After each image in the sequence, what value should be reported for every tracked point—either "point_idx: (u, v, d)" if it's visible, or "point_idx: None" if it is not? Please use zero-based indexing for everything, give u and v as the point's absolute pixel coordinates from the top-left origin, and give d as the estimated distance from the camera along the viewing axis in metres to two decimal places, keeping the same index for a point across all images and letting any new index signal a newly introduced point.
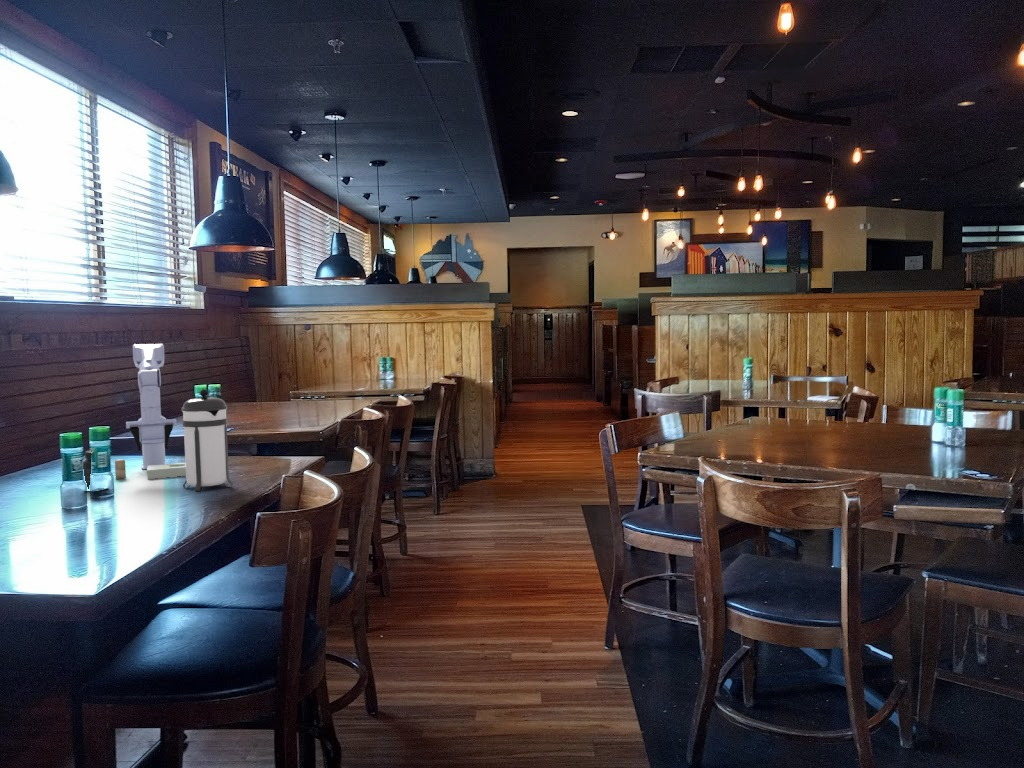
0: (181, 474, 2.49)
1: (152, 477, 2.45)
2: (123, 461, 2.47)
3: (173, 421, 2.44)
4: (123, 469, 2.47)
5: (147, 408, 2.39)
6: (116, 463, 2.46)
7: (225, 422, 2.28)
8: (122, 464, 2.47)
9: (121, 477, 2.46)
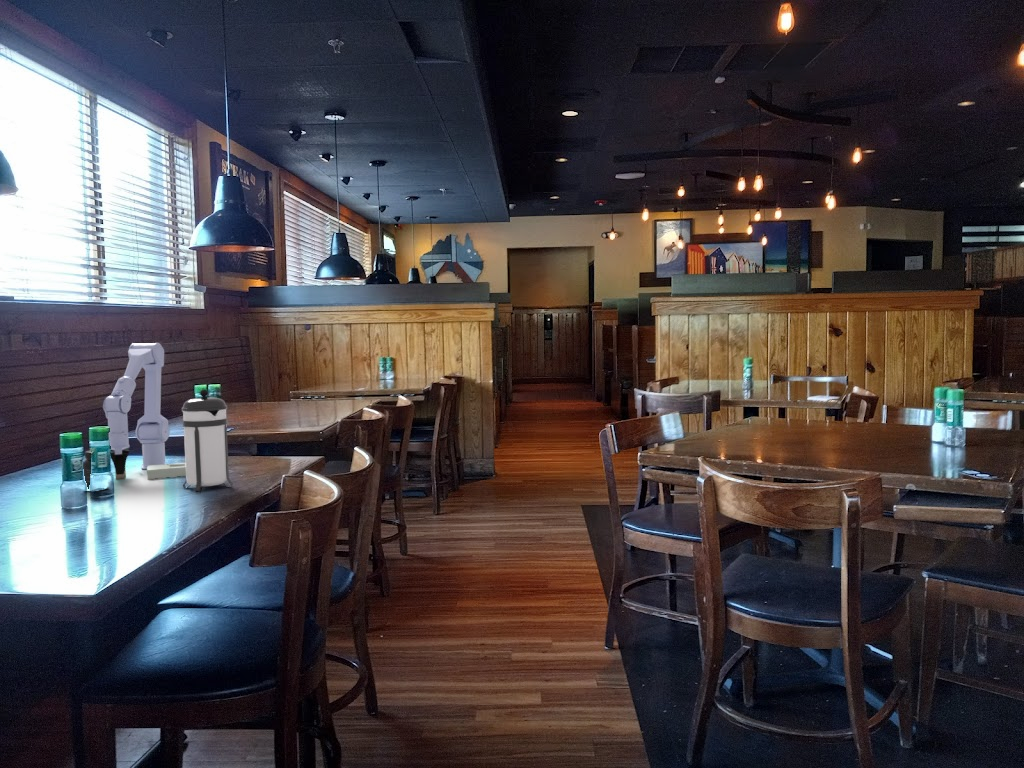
0: (181, 474, 2.49)
1: (152, 477, 2.45)
2: None
3: (114, 450, 2.41)
4: None
5: None
6: None
7: (225, 422, 2.28)
8: None
9: (121, 477, 2.46)
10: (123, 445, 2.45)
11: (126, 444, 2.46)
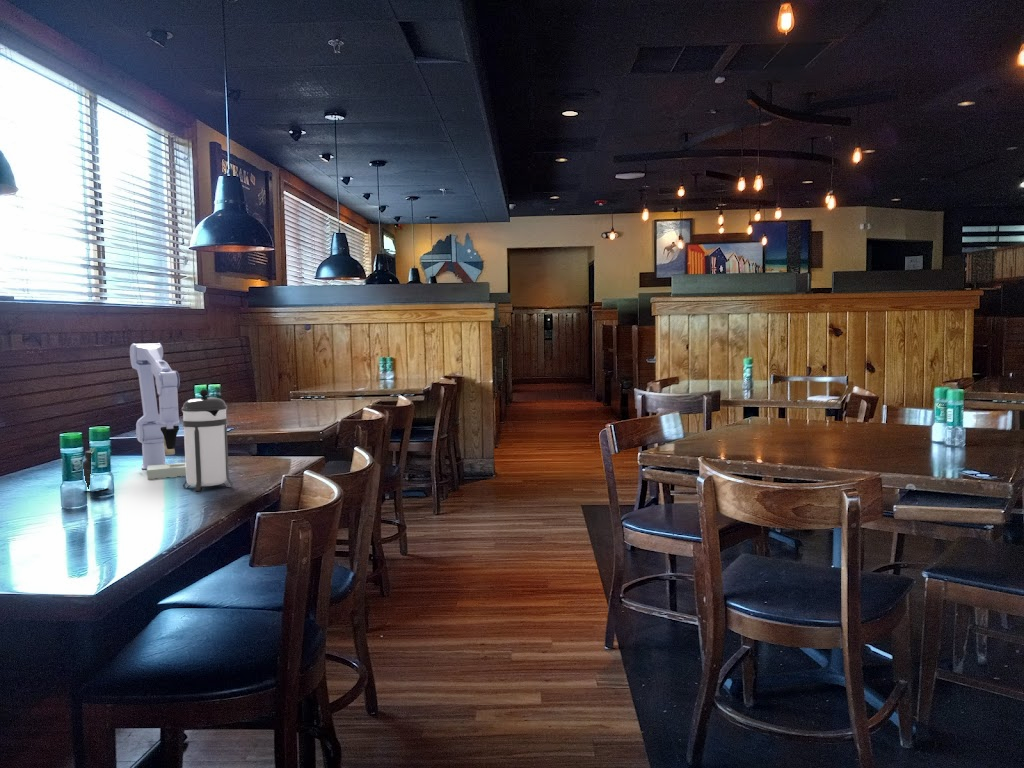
0: (181, 474, 2.49)
1: (152, 477, 2.45)
2: None
3: (166, 424, 2.45)
4: None
5: None
6: None
7: (225, 422, 2.28)
8: None
9: (170, 453, 2.51)
10: (174, 420, 2.50)
11: (176, 419, 2.51)
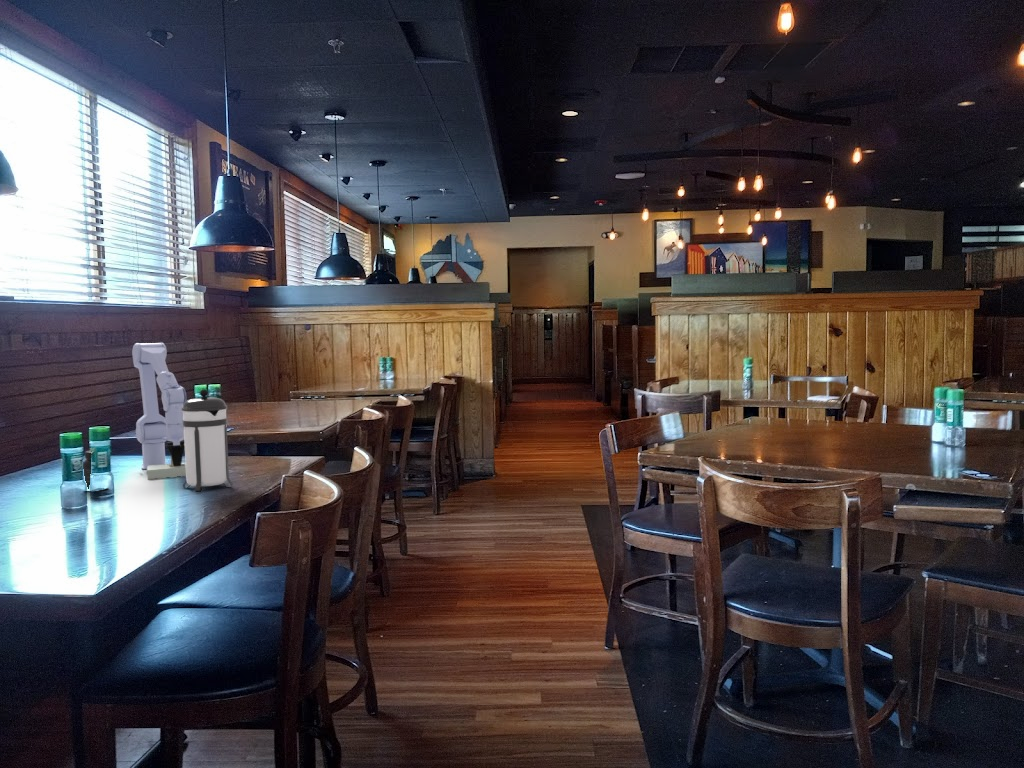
0: (181, 474, 2.49)
1: (152, 477, 2.45)
2: None
3: (172, 441, 2.46)
4: None
5: None
6: None
7: (225, 422, 2.28)
8: None
9: None
10: (180, 436, 2.51)
11: (183, 435, 2.52)
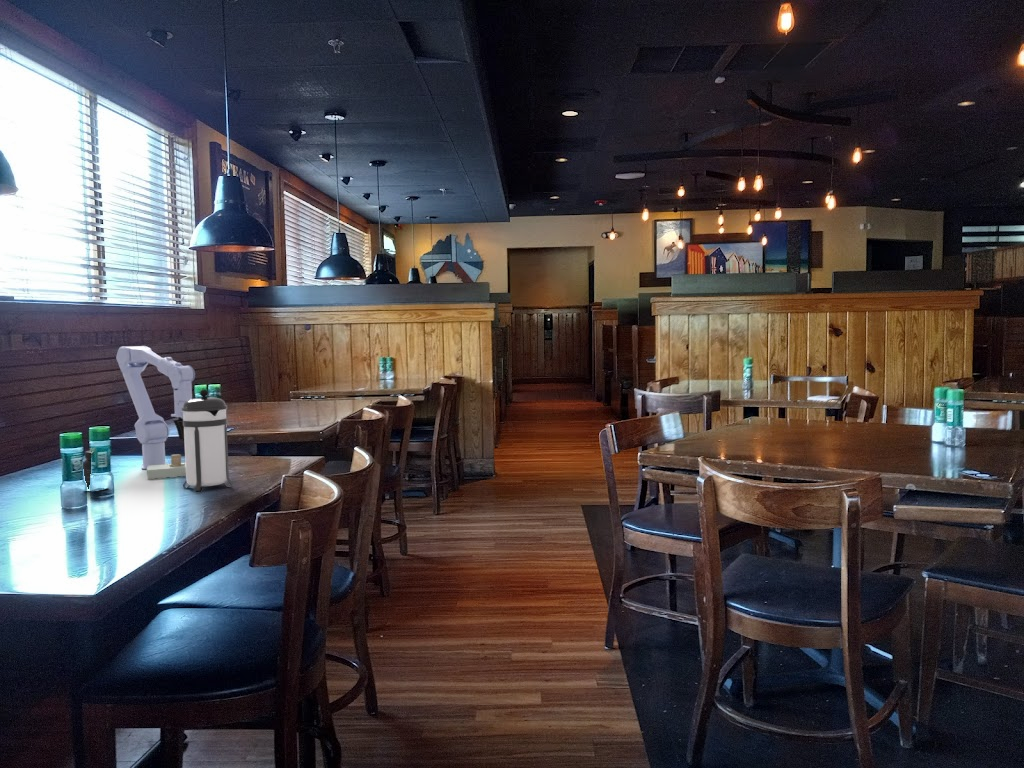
0: (181, 474, 2.49)
1: (152, 477, 2.45)
2: (179, 456, 2.52)
3: None
4: (179, 464, 2.52)
5: None
6: (172, 458, 2.51)
7: (225, 422, 2.28)
8: (178, 459, 2.52)
9: None
10: None
11: None
